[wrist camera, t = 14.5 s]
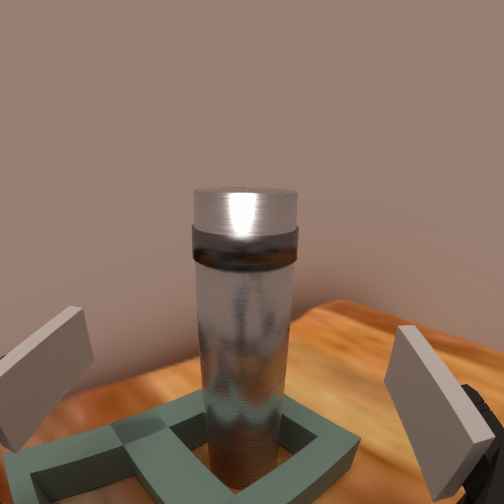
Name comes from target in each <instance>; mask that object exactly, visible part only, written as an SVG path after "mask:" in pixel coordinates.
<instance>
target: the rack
mask: <svg viewBox="0 0 504 504" xmlns="http://www.w3.org/2000/svg"><path fill="white" fill-rule="evenodd" d="M360 440H361V438H360V437H358V436H356V435H355V434H353V433H351V432H349V431H347V430H345V429H343V428H342V427H340V426H338V425H336V424H334V423H333V422H331V421H329V420H327V419H325V418H324V417H322V416H320V415H318V414H317V413H315V412H313V411H312V410H310V409H308V408H306V407H305V406H303V405H301V404H300V403H298V402H296V401H295V400H293V399H291V398H290V397H288V396H287V395H285V394H284V397H283V406H282V416H281V425H280V433H279V442H278V444H279V445H281V446H282V447H284V448H285V449H287V450H288V451H290V452H291V453H292V454H294V456H292V457H291V458H290V459H288V460H287V461H285V462H284V463H283V464H281V465H280V466H278V467H277V468H276V469H274V470H273V471H271V472H270V473H268V474H267V475H265V476H264V477H262V478H261V479H259V480H258V481H256V482H255V483H253V484H252V485H250V486H248V487H247V488H245V489H244V490H242V491H240V492H239V493H237V494H234V493H233V492H232V491H231V490H230V489H228V488H227V487H226V486H225V485H224V484H223V483H222V482H221V481H220V480H219V479H218V478H217V477H216V476H215V475H214V474H213V473H212V472H211V471H210V470H209V469H208V468H207V467H205V466H204V464H203V463H202V462H201V461H200V460H199V459H198V458H197V457H196V456H195V455H194V454H193V453H192V452H191V451H190V450H192V449H194V448H196V447H198V446H200V445H202V444H204V443H206V442H207V432H206V423H205V413H204V402H203V390H202V389H200V390H197V391H195V392H192V393H190V394H188V395H185V396H183V397H180V398H178V399H176V400H173V401H171V402H168V403H166V404H163V405H160V406H158V407H155V408H153V409H150V410H147V411H145V412H142V413H139V414H137V415H134V416H131V417H128V418H125V419H123V420H120V421H117V422H114V423H111V424H108V425H105V426H102V427H99V428H96V429H93V430H89V431H86V432H83V433H80V434H76V435H73V436H70V437H66V438H63V439H59V440H56V441H52V442H48V443H44V444H40V445H37V446H33V447H28V448H24V449H20V451H19V452H18V453H17V454H16V453H14V452H12V451H11V452H6V453H3V458H4V464H5V469H6V473H7V478H8V482H9V486H10V490H11V494H12V498H13V502H14V504H52V503H51V501H55V500H58V499H62V498H66V497H69V496H73V495H76V494H80V493H83V492H86V491H89V490H92V489H95V488H98V487H101V486H104V485H107V484H110V483H113V482H116V481H118V480H121V479H124V478H127V477H129V476H132V475H134V474H135V475H136V477H137V478H138V480H139V481H140V483H141V484H142V485H143V487H144V488H145V490H146V491H147V492H148V494H149V495H150V496H151V498H152V499H153V500H154V502H155V503H156V504H311V503H312V502H313V501H314V500H316V499H317V498H318V497H319V496H320V495H321V494H322V493H324V492H325V491H326V490H327V489H328V488H329V487H330V486H331V485H332V484H334V483H335V482H336V481H337V480H338V479H339V478H340V477H341V476H342V475H343V474H344V473H345V472H346V471H347V470H348V469H349V468H350V467H351V464H352V462H353V459H354V456H355V454H356V451H357V448H358V446H359V443H360Z"/></svg>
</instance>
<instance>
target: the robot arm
mask: <svg viewBox="0 0 504 504" xmlns="http://www.w3.org/2000/svg"><path fill="white" fill-rule="evenodd" d="M93 362H94V358H93V353H92V349H91V345H90V340H89V335H88V331H87V326H86V321H85V316H84V311H83V308H79V307H73V306H69V307H68V308H66V309H65V310H64V311H63V312H61V313H60V314H58V315H57V316H56V317H54V318H53V319H52V320H50V321H49V322H48V323H47V324H45V325H44V326H43V327H41V328H40V329H39V330H37V331H36V332H35V333H34V334H32V335H31V336H30V337H28V338H27V339H26V340H25V341H23V342H22V343H21V344H19V345H18V346H17V347H16V348H15V349H13V350H12V351H11V352H10V353H8V354H6V355H4V356H2V357H1V358H0V442H1V444H2V446H3V447H5V448H7V449H9V450H11V451H12V452H14V453H16V454H17V453H18V452H19V451H20V449H21V448H22V447H23V446H24V444H25V443H26V442H27V441H28V439H29V438H30V437H31V436H32V434H33V433H34V432H35V431H36V429H37V428H38V427H39V426H40V424H41V423H42V422H43V421H44V420H45V418H46V417H47V416H48V415H49V413H50V412H51V411H52V410H53V409H54V407H55V406H56V405H57V404H58V403H59V402H60V400H61V399H62V398H63V397H64V396H65V394H66V393H67V392H68V391H69V390H70V388H71V387H72V386H73V385H74V384H75V383H76V381H77V380H78V379H79V378H80V377H81V376H82V375H83V373H84V372H85V371H86V370H87V369H88V367H89V366H90V365H91V364H92V363H93ZM384 382H385V384H386V387H387V389H388V391H389V393H390V396H391V398H392V400H393V403H394V405H395V407H396V409H397V412H398V414H399V416H400V419H401V421H402V424H403V426H404V428H405V431H406V433H407V436H408V438H409V441H410V443H411V445H412V448H413V450H414V453H415V455H416V458H417V461H418V463H419V466H420V468H421V471H422V474H423V476H424V479H425V481H426V484H427V487H428V490H429V492H430V495H431V498H432V501H433V502H435V501H438V500H442V499H445V498H449V497H452V496H454V495H455V494H456V492H457V491H458V490H459V489H460V487H461V486H462V485H463V487H464V490H465V492H466V493H465V494H464V495H463V496H462V498H461V499H460V500H459V501H458V502H457V503H456V504H504V428H503V426H502V425H501V423H500V422H499V421H498V419H497V418H496V416H495V415H494V414H493V412H492V411H490V408H489V407H488V405H487V404H486V403H484V400H483V398H482V397H481V396H480V394H479V393H478V392H477V391H476V390H474V389H473V388H471V387H470V386H469V385H467V384H465V385H460V384H459V383H458V382H457V380H456V379H455V377H454V376H453V375H452V373H451V372H450V371H449V369H448V368H447V367H446V365H445V364H444V363H443V361H442V360H441V359H440V357H439V356H438V355H437V353H436V352H435V351H434V350H433V348H432V347H431V346H430V344H429V343H428V342H427V341H426V339H425V338H424V337H423V335H422V334H421V333H420V332H419V330H418V329H417V328H416V327H415V325H408V326H398V328H397V332H396V337H395V341H394V345H393V349H392V353H391V357H390V361H389V365H388V369H387V372H386V376H385V379H384Z"/></svg>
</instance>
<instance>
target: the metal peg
mask: <svg viewBox="0 0 504 504" xmlns="http://www.w3.org/2000/svg"><path fill="white" fill-rule="evenodd" d="M296 215H297V192H296V191H291V190H285V189H272V188H251V187H248V188H247V187H245V188H244V187H223V188H204V189H197V190H194V224H193V226H192V255H193V259H194V260H195V271H196V296H197V316H198V335H199V351H200V365H201V378H202V390H203V402H204V413H205V423H206V432H207V442H208V451H209V459H210V467H211V471H212V473H213V474H214V475H215V476H216V477H217V478H218V479H219V480H220V481H221V482H222V483H223V484H224V485H226V486H228V487H231V488H235V489H245V488H247V487H248V486H250V485H252V484H253V483H255V482H256V481H258V480H259V479H261V478H262V477H264V476H265V475H267V474H268V473H270V472H271V471H273V470H274V469H275V466H276V458H277V450H278V442H279V433H280V425H281V416H282V406H283V397H284V387H285V376H286V366H287V354H288V343H289V330H290V318H291V304H292V288H293V273H294V262H295V261H296V260H297V249H298V227H297V226H296Z"/></svg>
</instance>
